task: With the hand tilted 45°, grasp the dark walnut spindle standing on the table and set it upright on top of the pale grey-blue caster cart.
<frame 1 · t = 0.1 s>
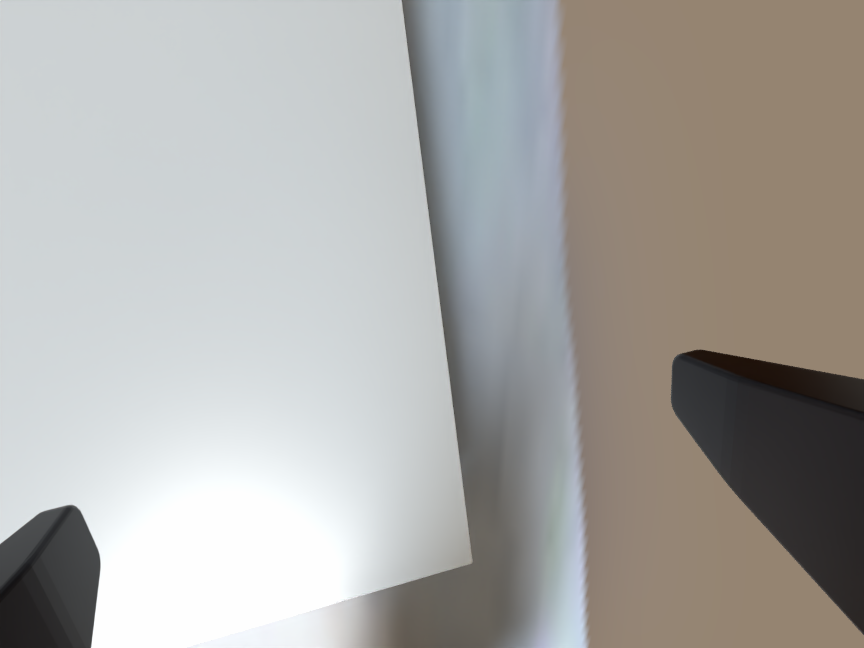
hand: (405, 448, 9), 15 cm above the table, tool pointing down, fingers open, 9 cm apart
caster cart: (201, 316, 22), on the table
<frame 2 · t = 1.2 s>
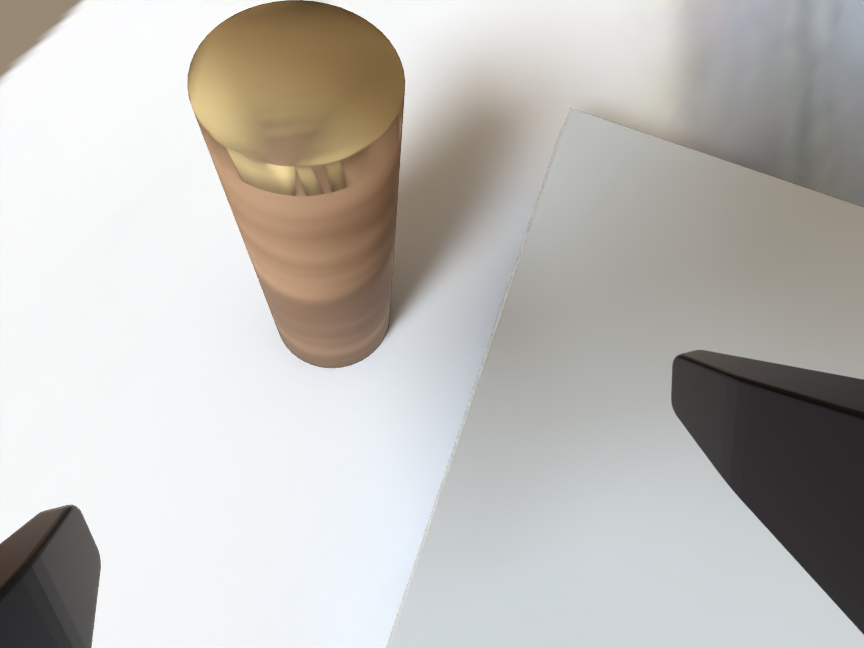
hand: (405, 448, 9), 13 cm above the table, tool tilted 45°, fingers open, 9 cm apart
walnut spindle: (333, 314, 24), on the table
caster cart: (669, 463, 23), on the table
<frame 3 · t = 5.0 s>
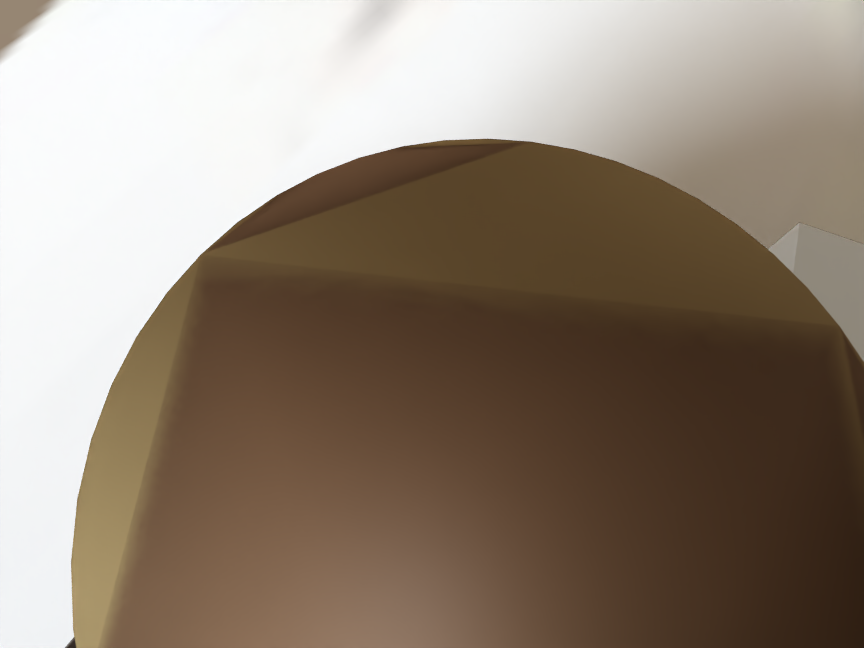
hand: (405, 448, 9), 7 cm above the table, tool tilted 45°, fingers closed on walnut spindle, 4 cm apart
walnut spindle: (406, 560, 15), on the table, touching gripper
when the fingers open (12 cm above the table, at t = 8.4 s): walnut spindle drops 1 cm, resting on caster cart.
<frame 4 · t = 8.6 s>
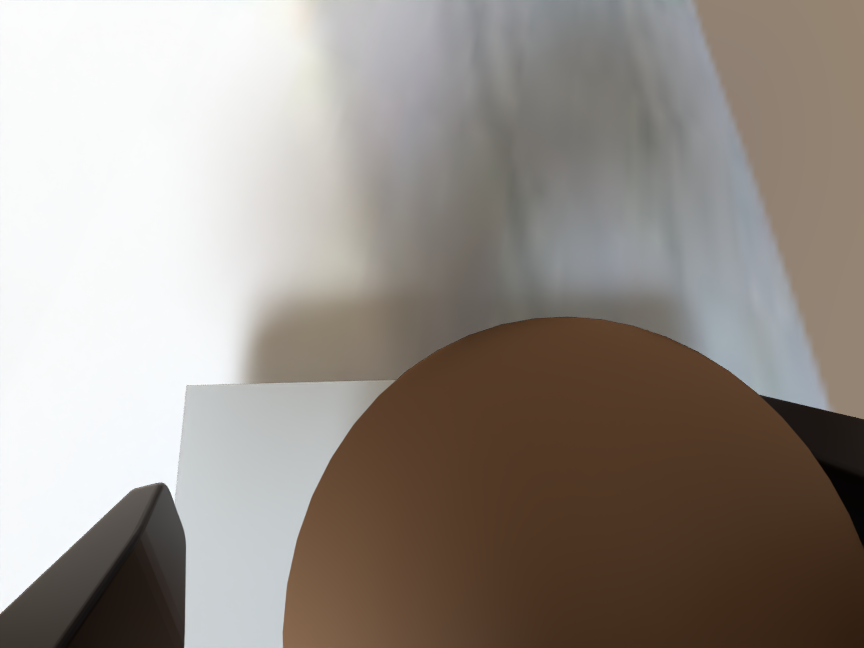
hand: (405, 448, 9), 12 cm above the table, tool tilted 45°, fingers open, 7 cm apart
walnut spindle: (405, 563, 16), point 4 cm above the table, touching caster cart
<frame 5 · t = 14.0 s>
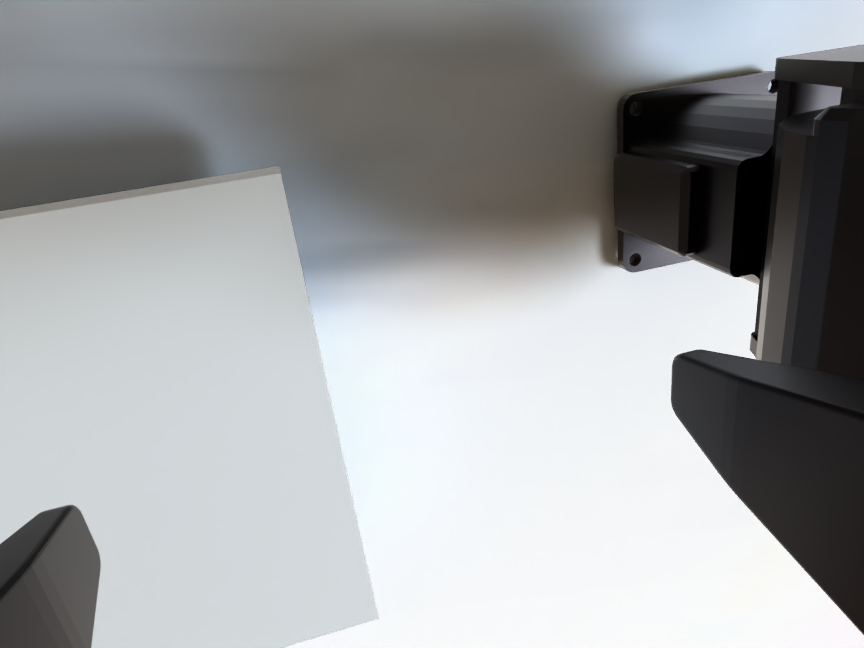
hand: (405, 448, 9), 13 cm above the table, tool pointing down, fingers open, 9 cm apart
caster cart: (2, 450, 21), on the table
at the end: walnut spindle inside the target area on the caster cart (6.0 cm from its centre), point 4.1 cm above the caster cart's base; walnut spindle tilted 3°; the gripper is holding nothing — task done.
